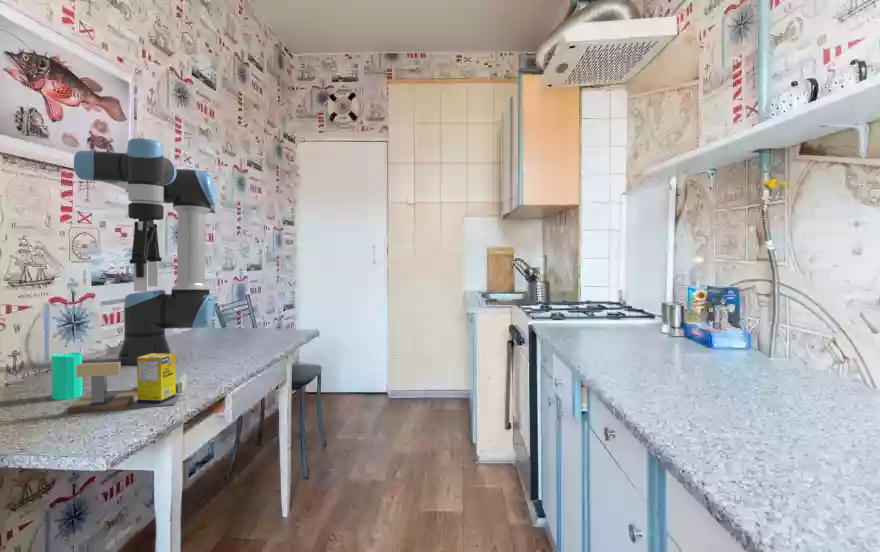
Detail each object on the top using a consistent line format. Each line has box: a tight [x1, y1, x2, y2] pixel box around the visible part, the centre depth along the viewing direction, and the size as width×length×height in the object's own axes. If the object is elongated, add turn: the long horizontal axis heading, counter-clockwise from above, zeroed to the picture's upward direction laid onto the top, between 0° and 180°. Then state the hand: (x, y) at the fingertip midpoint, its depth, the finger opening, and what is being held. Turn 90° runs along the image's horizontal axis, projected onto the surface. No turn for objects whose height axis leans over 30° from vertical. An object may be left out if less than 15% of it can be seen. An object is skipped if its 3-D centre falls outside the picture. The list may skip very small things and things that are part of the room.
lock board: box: [67, 389, 138, 414], centre depth 116 cm, size 13×11×2 cm
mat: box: [130, 393, 181, 410], centre depth 118 cm, size 9×9×1 cm
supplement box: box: [136, 353, 177, 403], centre depth 118 cm, size 6×6×11 cm
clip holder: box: [177, 374, 188, 393], centre depth 129 cm, size 9×10×2 cm
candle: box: [51, 351, 83, 401], centre depth 121 cm, size 6×6×12 cm
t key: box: [76, 361, 122, 403], centre depth 111 cm, size 2×8×9 cm, turn 110°
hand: (147, 288), depth 122 cm, fingers open, 13 cm apart
